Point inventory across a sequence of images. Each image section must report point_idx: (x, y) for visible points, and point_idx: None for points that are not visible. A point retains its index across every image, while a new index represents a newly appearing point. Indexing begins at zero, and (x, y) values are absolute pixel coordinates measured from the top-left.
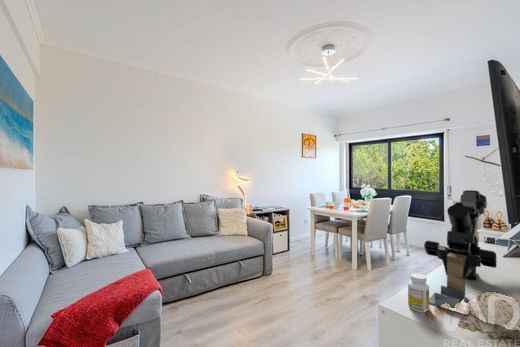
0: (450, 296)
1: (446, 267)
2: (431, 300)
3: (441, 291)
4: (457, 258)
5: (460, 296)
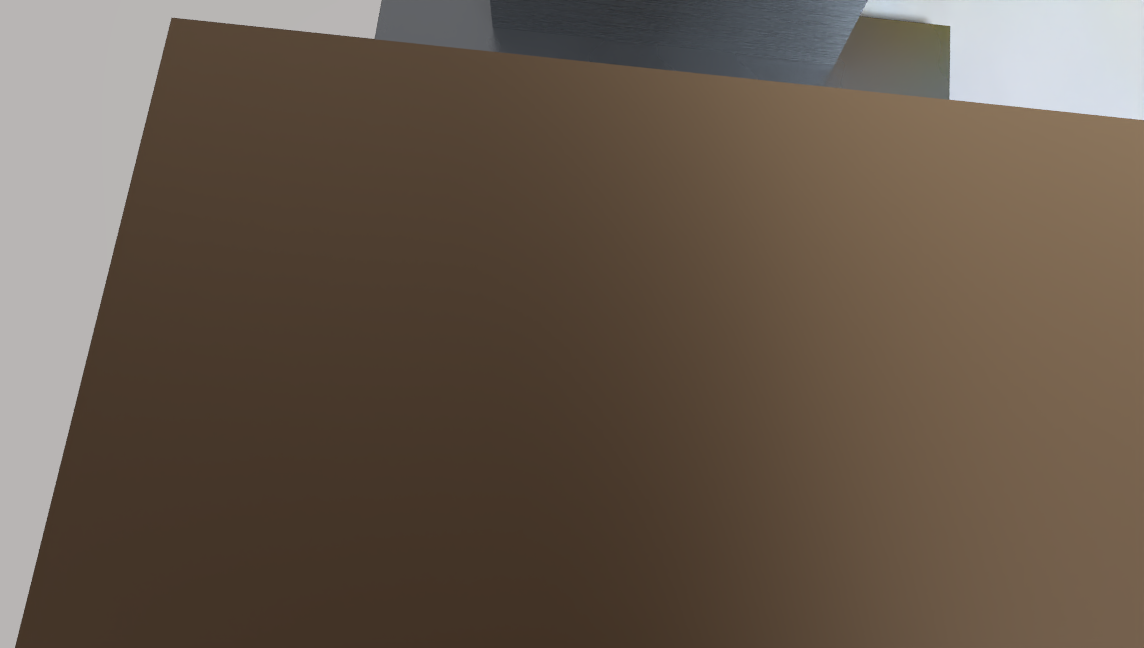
0: None
1: None
2: None
3: None
4: (568, 85)
5: None
